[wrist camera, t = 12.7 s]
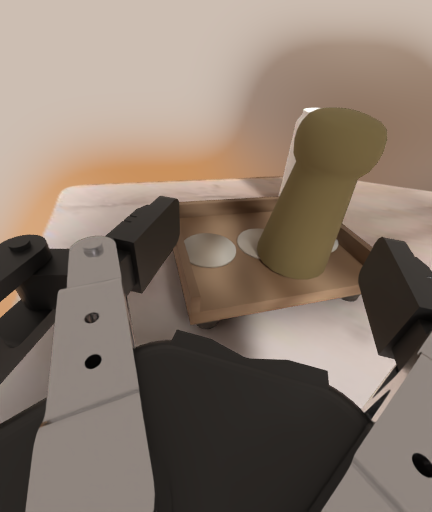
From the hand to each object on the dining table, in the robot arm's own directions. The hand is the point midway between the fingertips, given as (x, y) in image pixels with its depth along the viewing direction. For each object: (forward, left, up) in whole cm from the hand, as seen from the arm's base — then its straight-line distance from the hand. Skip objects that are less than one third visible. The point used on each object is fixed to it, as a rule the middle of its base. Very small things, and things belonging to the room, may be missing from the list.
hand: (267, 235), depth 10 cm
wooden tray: (-5, -9, -10) cm, 15 cm away
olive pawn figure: (-7, -7, -7) cm, 12 cm away
